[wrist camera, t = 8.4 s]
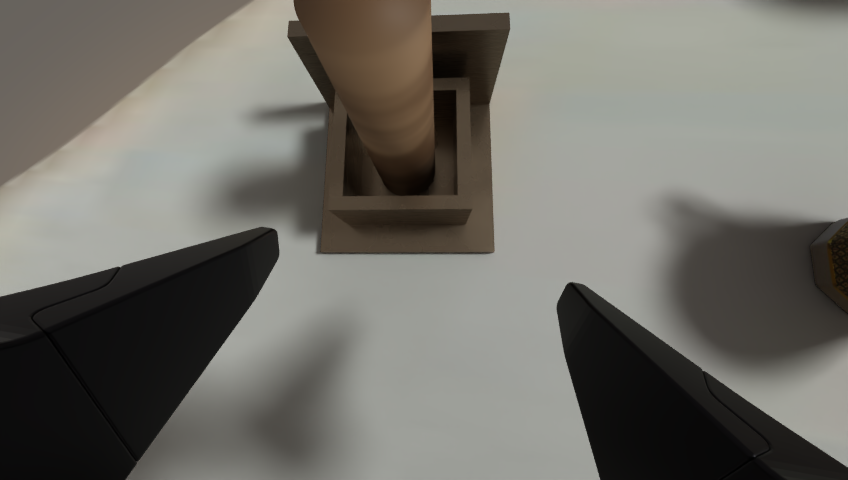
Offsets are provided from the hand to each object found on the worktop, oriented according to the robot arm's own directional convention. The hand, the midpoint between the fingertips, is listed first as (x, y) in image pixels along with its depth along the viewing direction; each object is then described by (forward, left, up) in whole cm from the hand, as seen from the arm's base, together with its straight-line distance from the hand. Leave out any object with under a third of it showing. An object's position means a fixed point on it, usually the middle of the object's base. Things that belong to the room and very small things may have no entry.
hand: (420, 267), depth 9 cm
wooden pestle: (+8, +2, -11) cm, 14 cm away
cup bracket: (+8, +2, -12) cm, 14 cm away
